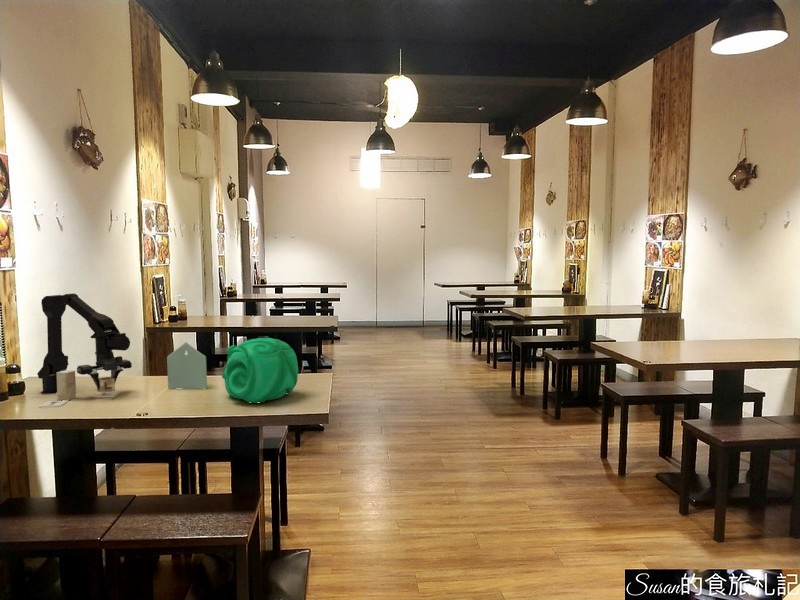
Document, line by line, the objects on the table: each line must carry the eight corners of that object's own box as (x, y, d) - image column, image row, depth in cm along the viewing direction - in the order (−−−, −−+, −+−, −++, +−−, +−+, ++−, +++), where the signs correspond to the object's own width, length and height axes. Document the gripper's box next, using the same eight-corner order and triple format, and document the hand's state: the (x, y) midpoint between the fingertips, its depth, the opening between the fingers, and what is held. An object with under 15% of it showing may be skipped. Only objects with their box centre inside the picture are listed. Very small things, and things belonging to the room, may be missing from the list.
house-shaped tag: (213, 384, 244) (212, 339, 243) (206, 389, 236) (205, 342, 235) (176, 384, 245) (174, 339, 243) (168, 389, 237) (166, 342, 235)
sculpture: (244, 369, 243) (276, 317, 233) (285, 415, 234) (320, 363, 224) (195, 382, 220) (228, 324, 209) (238, 433, 211) (276, 376, 200)
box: (66, 401, 218) (65, 372, 217) (57, 400, 219) (55, 372, 218) (77, 397, 224) (75, 370, 223) (67, 397, 224) (66, 369, 223)
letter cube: (101, 393, 223) (101, 380, 222) (97, 390, 226) (96, 378, 226) (115, 390, 226) (114, 378, 226) (110, 388, 230) (109, 376, 230)
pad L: (93, 398, 223) (93, 396, 223) (100, 393, 230) (100, 391, 230) (111, 397, 224) (111, 395, 223) (118, 393, 230) (118, 391, 230)
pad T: (39, 407, 210) (39, 405, 209) (49, 402, 216) (49, 400, 216) (59, 406, 210) (59, 405, 210) (68, 401, 217) (68, 400, 217)
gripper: (84, 355, 213) (87, 395, 214) (136, 348, 226) (137, 387, 227) (75, 351, 221) (77, 391, 222) (125, 345, 234) (127, 383, 235)
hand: (105, 388), depth 226 cm, fingers closed on letter cube, 5 cm apart
